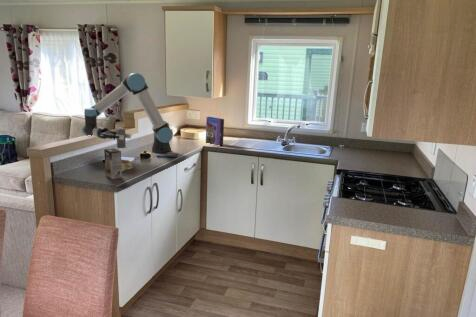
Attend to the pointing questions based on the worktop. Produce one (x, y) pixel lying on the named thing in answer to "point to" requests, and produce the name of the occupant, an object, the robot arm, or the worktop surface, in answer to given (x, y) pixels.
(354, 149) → the worktop surface
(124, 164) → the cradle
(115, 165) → the coffee box
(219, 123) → the cereal box
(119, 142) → the battery cell
